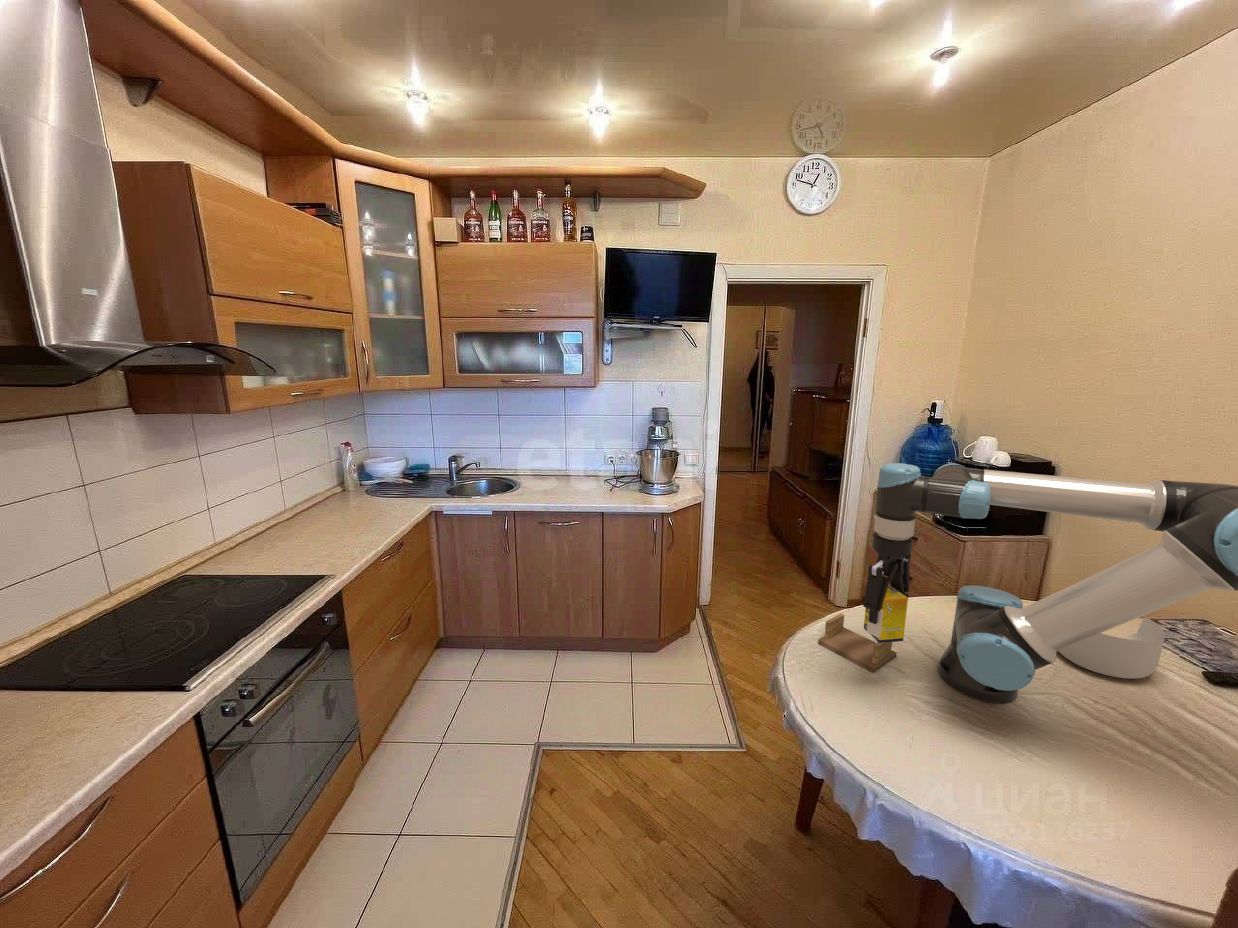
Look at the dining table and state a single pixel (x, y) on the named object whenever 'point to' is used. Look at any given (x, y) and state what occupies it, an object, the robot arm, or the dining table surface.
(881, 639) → the supplement box
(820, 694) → the dining table surface
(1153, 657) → the bowl
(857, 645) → the stand
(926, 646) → the dining table surface
